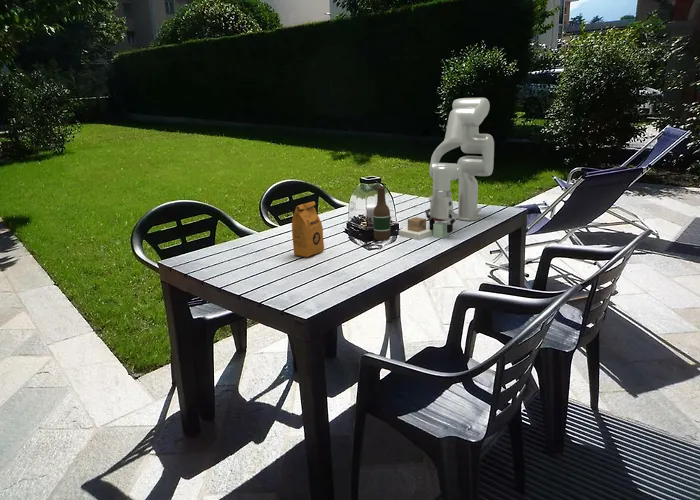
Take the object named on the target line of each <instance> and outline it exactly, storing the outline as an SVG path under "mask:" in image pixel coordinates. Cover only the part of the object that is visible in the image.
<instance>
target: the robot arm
mask: <svg viewBox="0 0 700 500" xmlns="http://www.w3.org/2000/svg"><path fill="white" fill-rule="evenodd" d="M490 107H491V106H490V101H489V100H488V99H487V98H486V97H464V98H463V97H462V98H457V99H454V100H453V102H452V110H451V111H450V112H449V115H448V120H447V125H446V130H445V135H444V140H443V141H442V142H441V143H440V144H439V145H438V146H437V147H436V148H435V150H433V153H432V155H431V159H430V162H429V163H430V164H429V169H428V171H429V172H428V173H429V176H430V178H431V179H432V195H431V196H432V198H431V204H430V205H429V206H430V208H428V209H426V210H424V213H425V216H426V219H427V220H428V222H429V227H428V228H430V230H432V229H433V224H435V223H436V220H434V219H435V218H437V219H443V220H442V221H446V223H448V225H447V233H449V234H451V233H452V232H453V229H454V226H453V225H454V224H455V222H456V221H457V220H458V221H463V222H464V221H465V222H467V221H468V222H469V221H477V220H480V219H481V215H480V214H478V213H479V212H481V211H482V208H481V207H478V198H479V195H478V194H479V193H478V192H479V182H478V180H477V178H475V176H477V177H488V176H491V175H492V174H493V170H494V164H495V163H494V162H495V161H494V158H495V140H494V138H493V136H492V135H491V134H489V133H480V132H479V129H480V128H479V126H480V125H481V124H482V123H483V121H484V119H485V118H486V117H487V116H488V114H489V111H490ZM459 147H460V150H461V151H462V152H463V153H464V154H479V155H482V156H478V155H465V156H462V157H459V159H458V160H457V163H449V162H440V161H441V158H442V157H443V156H444V155H445V154H446V153H447V152H450V151H451V150H454V149H457V148H459ZM457 180H458V202H457V203H458V204H457V205H458V208H457V209H458V212H457V213H456V212H454V203H453V199H452V195H453V193H452V191H451V181H457Z"/></svg>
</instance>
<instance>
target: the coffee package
mask: <svg viewBox="0 0 700 500" xmlns="http://www.w3.org/2000/svg"><path fill="white" fill-rule="evenodd" d="M315 206H316V202H315V201H309V202H307V203H302V204H299V205H297V206H295V210H294V213H293V215H292V219H291V233H292V234H291V235H292V237H291V238H292V247H293V254H294V256H299V257H305V258H306V257H307V258H309V257H310V256H313V255H316V254H317V255H318V254H320V253H322V252H324V249H325V243H324V242H325V241H324V232H323V231H324V229H323V224H322V221H321V219H320V217H319V215H318V213H317V210H316V208H315Z"/></svg>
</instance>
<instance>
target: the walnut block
mask: <svg viewBox="0 0 700 500" xmlns="http://www.w3.org/2000/svg"><path fill="white" fill-rule="evenodd" d="M407 227H408V230H410V231H415V232H420V231H423V230H426V227H427V218H424V217H423V218H422V217H419V216H414V217H411V218H408V219H407Z"/></svg>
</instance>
